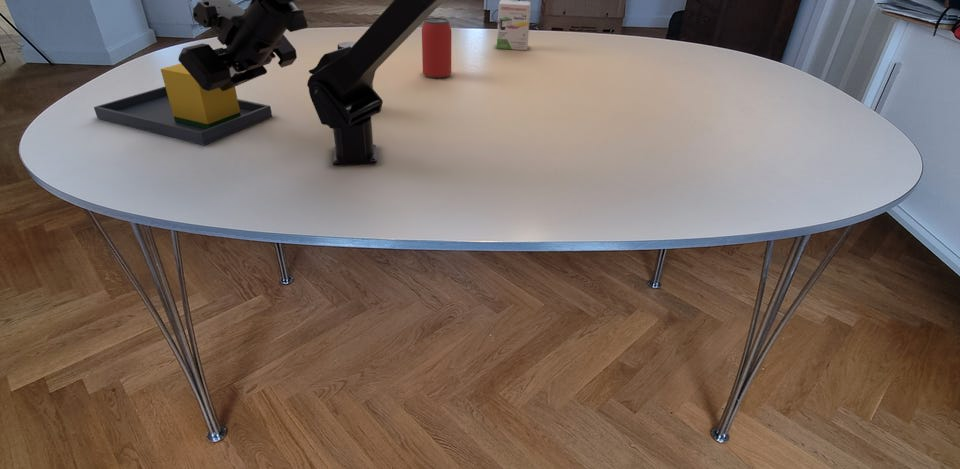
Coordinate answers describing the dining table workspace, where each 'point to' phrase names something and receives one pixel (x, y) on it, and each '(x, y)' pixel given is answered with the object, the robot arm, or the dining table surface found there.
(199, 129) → the tray
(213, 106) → the sponge
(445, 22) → the beer can
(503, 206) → the dining table surface
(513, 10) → the ink box
